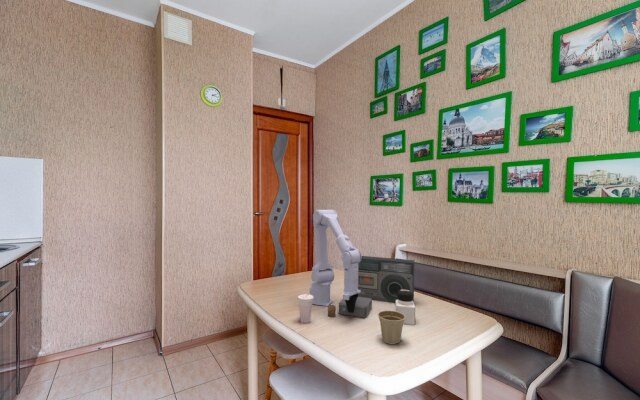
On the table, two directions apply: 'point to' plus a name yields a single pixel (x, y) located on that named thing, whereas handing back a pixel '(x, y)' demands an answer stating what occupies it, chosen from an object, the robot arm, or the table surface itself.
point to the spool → (331, 310)
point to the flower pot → (391, 326)
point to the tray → (357, 310)
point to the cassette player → (384, 278)
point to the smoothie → (305, 306)
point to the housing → (361, 304)
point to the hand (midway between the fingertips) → (350, 312)
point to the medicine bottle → (406, 306)
